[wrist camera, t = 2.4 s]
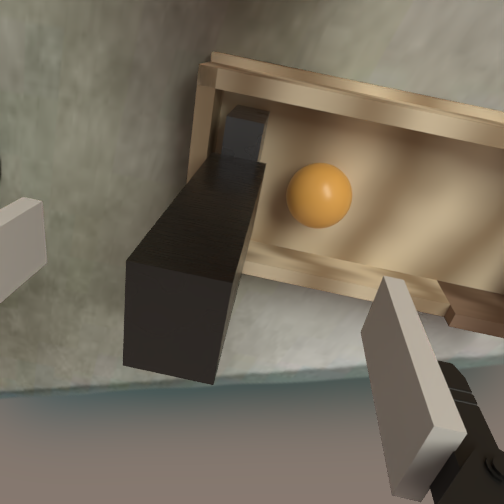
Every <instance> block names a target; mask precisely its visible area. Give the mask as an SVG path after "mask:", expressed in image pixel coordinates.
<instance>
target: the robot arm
mask: <svg viewBox="0 0 504 504" xmlns="http://www.w3.org/2000/svg"><path fill="white" fill-rule="evenodd" d="M46 263H47V253H46V240H45V227H44V214H43V201H40V200H35V199H31V198H26V197H22V198H20V199H18V200H16V201H14V202H13V203H11V204H9V205H7V206H5V207H4V208H2V209H0V303H1V302H2V301H3V300H5V299H6V298H7V297H8V296H9V295H10V294H12V293H13V292H14V291H15V290H16V289H17V288H19V287H20V286H21V285H22V284H23V283H24V282H26V281H27V280H28V279H29V278H30V277H31V276H33V275H34V274H35V273H36V272H37V271H38V270H40V269H41V268H42V267H43V266H44V265H45V264H46ZM361 336H362V341H363V346H364V352H365V357H366V362H367V367H368V373H369V378H370V383H371V388H372V394H373V399H374V404H375V409H376V415H377V420H378V425H379V430H380V435H381V440H382V446H383V451H384V456H385V462H386V467H387V472H388V477H389V483H390V488H391V493H392V495H393V496H397V497H401V498H406V499H410V500H414V501H418V502H421V501H422V500H423V498H424V497H425V495H426V494H427V492H428V491H429V489H431V493H432V497H433V500H434V504H504V452H503V451H501V450H500V449H499V448H498V446H497V444H496V442H495V440H494V438H493V436H492V434H491V431H490V429H489V428H488V425H487V423H486V421H485V419H484V417H483V415H482V413H481V411H480V408H479V407H478V406H477V402H476V400H475V398H474V396H473V395H472V394H471V393H472V391H471V390H470V387H469V385H468V383H467V381H466V379H465V377H464V376H463V375H462V374H461V373H460V372H459V370H458V369H457V368H456V367H455V366H454V365H453V364H451V363H447V362H442V361H438V360H437V359H436V356H435V354H434V352H433V349H432V347H431V344H430V342H429V340H428V337H427V335H426V332H425V330H424V327H423V325H422V323H421V320H420V318H419V315H418V313H417V310H416V308H415V306H414V303H413V301H412V298H411V296H410V294H409V291H408V289H407V286H406V284H405V281H404V280H402V279H397V278H393V277H388V276H383V278H382V281H381V283H380V286H379V288H378V291H377V293H376V296H375V298H374V301H373V303H372V306H371V308H370V311H369V313H368V315H367V318H366V320H365V323H364V325H363V328H362V330H361Z"/></svg>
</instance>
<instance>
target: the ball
mask: <svg viewBox="0 0 504 504" xmlns="http://www.w3.org/2000/svg"><path fill="white" fill-rule="evenodd" d="M286 201H287V206H288V208H289V211H290V213H291V214H292V216H293V217H294V218H295V219H296V220H297V221H298V222H300V223H301V224H303V225H304V226H307V227H310V228H315V229H321V228H327V227H330V226H333V225H335V224H336V223H338V222H339V221H340V220H342V219H343V218H344V216H345V215H346V214H347V212H348V211H349V208H350V206H351V202H352V187H351V184H350V182H349V180H348V178H347V176H346V175H345V174H344V173H343V172H342V171H341V170H340V169H339V168H337V167H335V166H333V165H331V164H327V163H313V164H309V165H307V166H305V167H303V168H301V169H300V170H298V171H297V172H296V173H295V174H294V176H293V177H292V178H291V180H290V182H289V184H288V187H287V192H286Z"/></svg>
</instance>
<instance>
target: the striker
mask: <svg viewBox="0 0 504 504" xmlns="http://www.w3.org/2000/svg"><path fill="white" fill-rule="evenodd" d="M269 114H270V111H265V110H261V109H256V108H251V107H246V106H242V105H237V106H236V107H235V108H234V109H233V110H232V111H231V112H230V113H229V114H228V115H227V116H226V123H225V130H224V136H223V143H222V150H221V154H219V153H214V152H211V154H210V155H209V156H208V158H207V159H206V160H205V161H204V163H203V164H202V165H201V166H200V168H199V169H198V170H197V171H196V173H195V174H194V175H193V177H192V178H191V179H190V180H189V182H188V183H187V184H186V185H185V187H184V188H183V189H182V190H181V192H180V193H179V194H178V196H177V197H176V198H175V199H174V201H173V202H172V203H171V204H170V206H169V207H168V208H167V209H166V211H165V212H164V213H163V215H162V216H161V217H160V218H159V220H158V221H157V222H156V223H155V225H154V226H153V227H152V228H151V230H150V231H149V232H148V234H147V235H146V236H145V237H144V239H143V240H142V241H141V242H140V244H139V245H138V246H137V247H136V249H135V250H134V251H133V253H132V254H131V255H130V256H129V258H128V259H127V260H126V284H125V314H124V344H123V365H124V366H128V367H133V368H137V369H142V370H147V371H151V372H156V373H160V374H165V375H170V376H174V377H179V378H183V379H188V380H193V381H197V382H202V383H206V384H211V385H213V384H214V380H215V377H216V373H217V369H218V365H219V361H220V357H221V353H222V349H223V345H224V341H225V337H226V333H227V329H228V326H229V322H230V318H231V314H232V310H233V306H234V302H235V298H236V294H237V290H238V286H239V282H240V278H241V275H242V271H243V267H244V263H245V259H246V255H247V251H248V247H249V243H250V239H251V235H252V231H253V227H254V222H255V217H256V212H257V207H258V202H259V197H260V192H261V188H262V183H263V178H264V173H265V168H266V163H262V162H260V160H261V155H262V150H263V144H264V139H265V134H266V129H267V124H268V119H269Z"/></svg>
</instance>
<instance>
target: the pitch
mask: <svg viewBox="0 0 504 504" xmlns="http://www.w3.org/2000/svg"><path fill="white" fill-rule="evenodd" d="M237 105H242V106H246V107H251V108H256V109H261V110H265V111H270V114H269V119H268V124H267V129H266V134H265V139H264V144H263V150H262V155H261V160H260V162H262V163H266V168H265V173H264V178H263V183H262V188H261V192H260V197H259V202H258V207H257V212H256V217H255V222H254V227H253V231H252V235H251V239H250V243H249V247H248V251H247V255H246V259H245V263H244V267H243V271H242V273H243V274H247V275H252V276H257V277H261V278H266V279H271V280H275V281H280V282H284V283H289V284H294V285H298V286H303V287H308V288H312V289H317V290H322V291H326V292H331V293H336V294H340V295H345V296H350V297H354V298H359V299H364V300H368V301H374V298H375V296H376V293H377V291H378V288H379V286H380V283H381V281H382V278H383V276H388V277H393V278H397V279H402V280H404V281H405V284H406V286H407V289H408V291H409V294H410V296H411V298H412V301H413V303H414V306H415V308H416V310H417V311H420V312H424V313H429V314H434V315H438V316H443V317H444V318H445V320H446V322H447V324H448V325H449V326H450V327H455V328H459V329H464V330H469V331H473V332H478V333H483V334H487V335H492V336H496V337H501V338H504V112H502V111H497V110H492V109H487V108H483V107H478V106H473V105H468V104H464V103H459V102H454V101H449V100H444V99H440V98H435V97H430V96H425V95H421V94H416V93H411V92H406V91H401V90H397V89H392V88H387V87H382V86H378V85H373V84H368V83H363V82H358V81H354V80H349V79H344V78H339V77H335V76H330V75H325V74H320V73H315V72H311V71H306V70H301V69H296V68H292V67H287V66H282V65H277V64H272V63H268V62H263V61H258V60H253V59H249V58H244V57H239V56H234V55H229V54H225V53H220V52H212V54H211V61H210V62H206V63H202V64H199V70H198V79H197V89H196V98H195V107H194V117H193V126H192V136H191V145H190V154H189V164H188V173H187V183H188V182H189V180H190V179H191V178H192V177H193V175H194V174H195V173H196V171H197V170H198V169H199V168H200V166H201V165H202V164H203V163H204V161H205V160H206V159H207V158H208V156H209V155H210V154H211V152H214V153H219V154H221V150H222V143H223V136H224V130H225V123H226V116H227V115H228V114H229V113H230V112H231V111H232V110H233V109H234V108H235V107H236V106H237ZM313 163H327V164H331V165H333V166H335V167H337V168H339V169H340V170H341V171H342V172H343V173H344V174H345V175H346V176H347V178H348V180H349V182H350V184H351V187H352V202H351V206H350V208H349V211H348V212H347V214H346V215H345V216H344V218H343V219H342V220H340V221H339V222H338V223H336V224H335V225H333V226H330V227H327V228H321V229H315V228H310V227H307V226H304V225H303V224H301V223H300V222H298V221H297V220H296V219H295V218H294V217H293V216H292V214H291V213H290V211H289V208H288V206H287V201H286V192H287V187H288V184H289V182H290V180H291V178H292V177H293V176H294V174H295V173H296V172H297V171H298V170H300V169H301V168H303V167H305V166H307V165H309V164H313ZM187 183H186V184H187Z"/></svg>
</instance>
